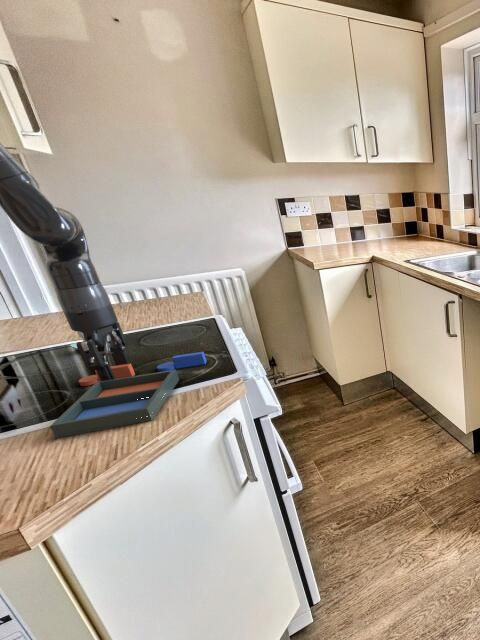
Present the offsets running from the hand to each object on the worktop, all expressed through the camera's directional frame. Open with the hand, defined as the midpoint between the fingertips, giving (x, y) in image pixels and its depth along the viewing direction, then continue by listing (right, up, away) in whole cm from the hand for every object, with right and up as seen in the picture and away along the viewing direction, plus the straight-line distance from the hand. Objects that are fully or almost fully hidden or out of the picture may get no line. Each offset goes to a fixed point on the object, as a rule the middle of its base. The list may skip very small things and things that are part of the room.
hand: (116, 373), depth 96 cm
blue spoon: (+11, +1, +6) cm, 12 cm away
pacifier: (-22, +5, +17) cm, 28 cm away
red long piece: (-1, -1, 0) cm, 2 cm away
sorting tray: (+12, -6, -11) cm, 17 cm away
